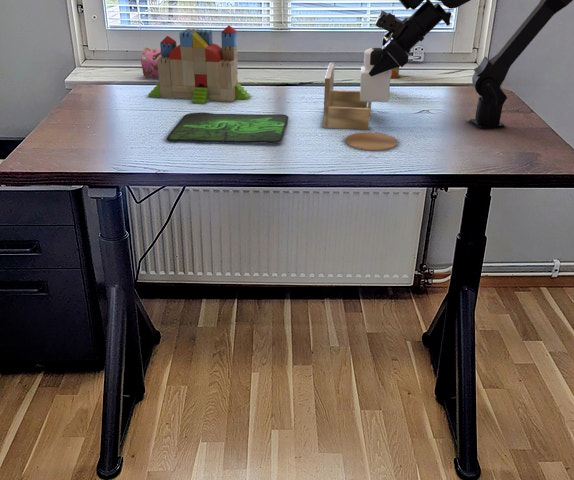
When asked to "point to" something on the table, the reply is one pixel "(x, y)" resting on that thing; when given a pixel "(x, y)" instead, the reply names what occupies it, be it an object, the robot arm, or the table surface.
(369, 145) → the cork coaster
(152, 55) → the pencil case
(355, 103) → the spice rack
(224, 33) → the block set
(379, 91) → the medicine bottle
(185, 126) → the mouse mat
